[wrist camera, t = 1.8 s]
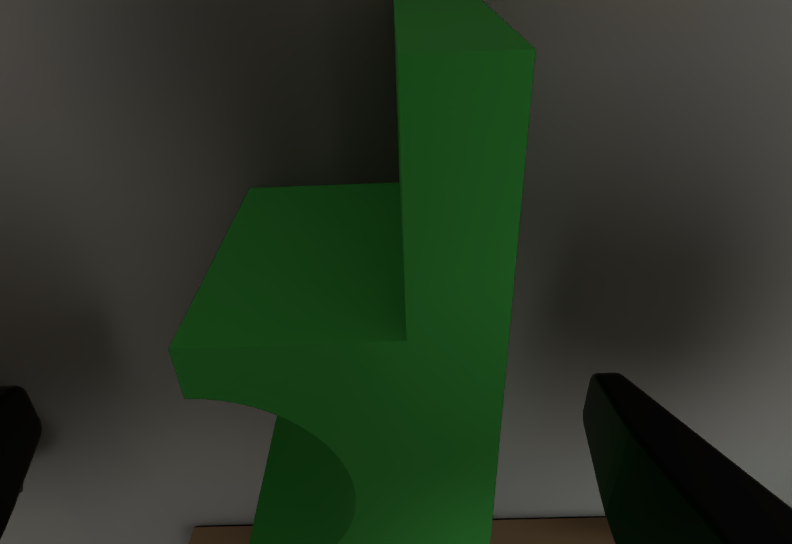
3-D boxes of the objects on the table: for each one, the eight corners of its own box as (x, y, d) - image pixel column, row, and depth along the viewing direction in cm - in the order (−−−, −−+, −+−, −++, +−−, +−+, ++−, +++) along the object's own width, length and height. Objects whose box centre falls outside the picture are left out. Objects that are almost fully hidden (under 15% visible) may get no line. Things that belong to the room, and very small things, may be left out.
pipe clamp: (218, -3, 8) (72, 60, 5) (468, -14, 8) (538, 41, 5) (306, 486, 14) (275, 698, 10) (454, 481, 14) (479, 691, 10)
